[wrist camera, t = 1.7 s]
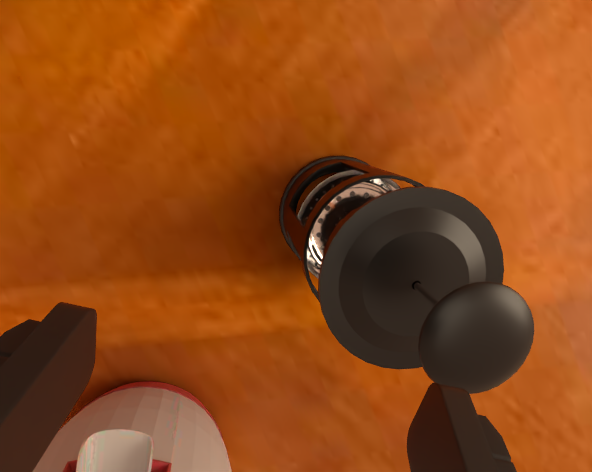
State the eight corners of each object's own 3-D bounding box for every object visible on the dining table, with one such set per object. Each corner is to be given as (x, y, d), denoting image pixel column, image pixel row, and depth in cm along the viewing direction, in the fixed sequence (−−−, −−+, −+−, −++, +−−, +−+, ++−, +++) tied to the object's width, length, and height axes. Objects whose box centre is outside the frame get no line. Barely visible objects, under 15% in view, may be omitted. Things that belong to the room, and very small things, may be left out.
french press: (285, 141, 36) (369, 173, 13) (400, 152, 37) (648, 197, 15) (272, 284, 38) (325, 506, 16) (380, 289, 40) (564, 500, 18)
